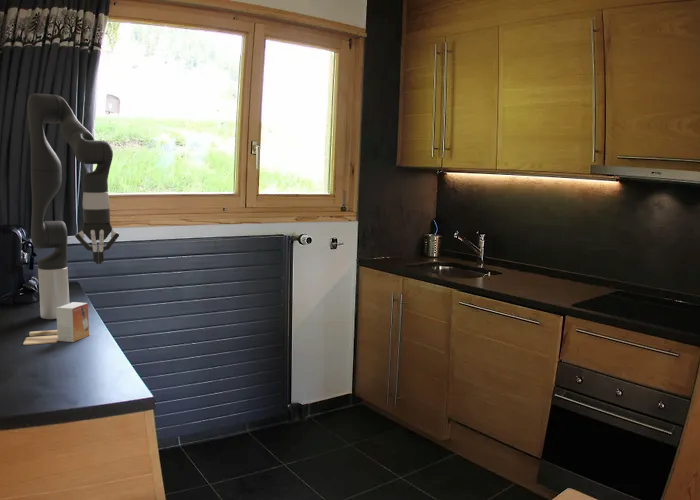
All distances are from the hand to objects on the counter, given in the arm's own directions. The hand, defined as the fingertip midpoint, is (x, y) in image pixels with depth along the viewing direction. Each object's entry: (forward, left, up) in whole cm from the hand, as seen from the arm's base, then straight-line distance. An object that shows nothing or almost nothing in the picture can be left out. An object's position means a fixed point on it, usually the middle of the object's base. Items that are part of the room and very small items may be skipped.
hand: (98, 263), depth 191 cm
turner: (-7, -15, -23) cm, 28 cm away
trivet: (0, -17, -23) cm, 29 cm away
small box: (0, -8, -23) cm, 25 cm away
